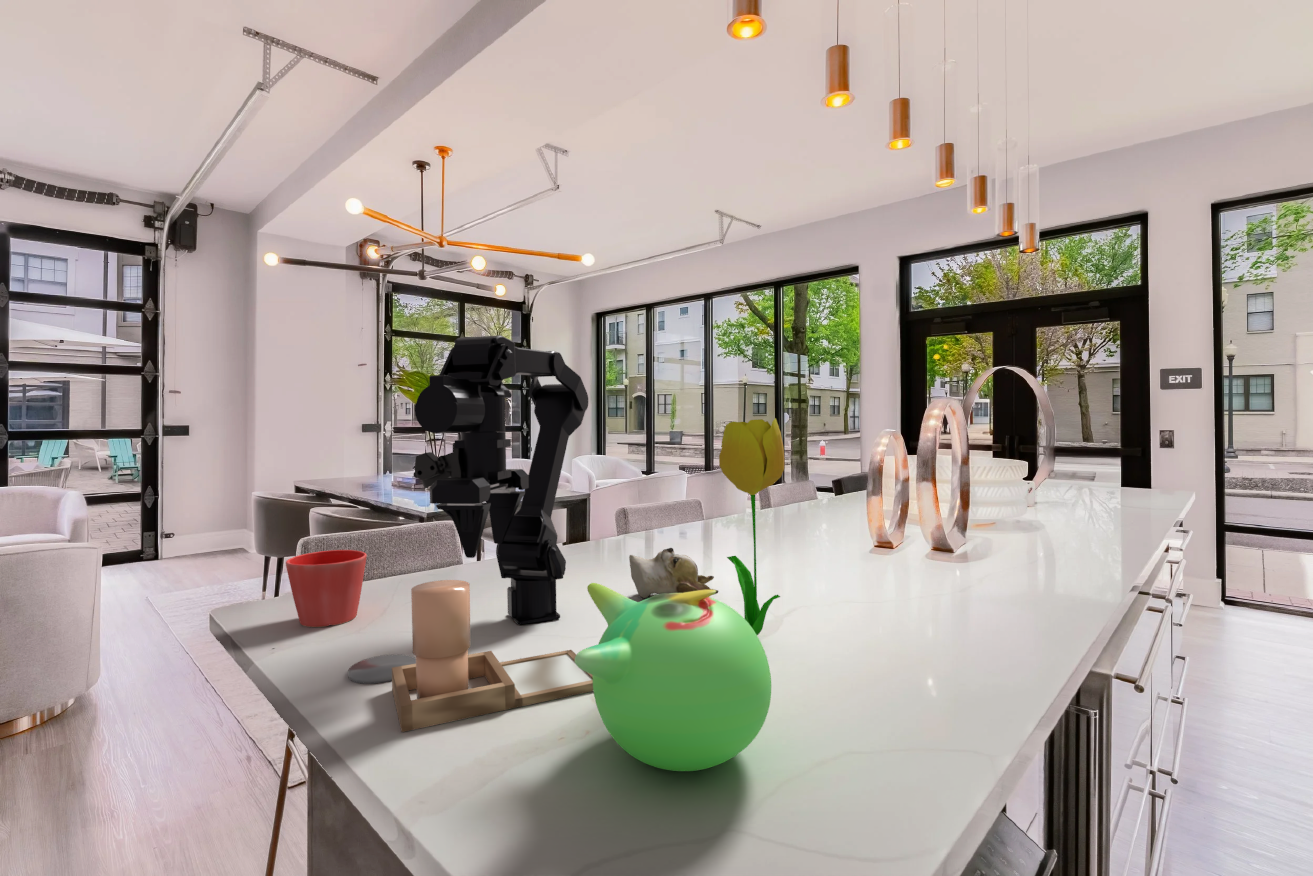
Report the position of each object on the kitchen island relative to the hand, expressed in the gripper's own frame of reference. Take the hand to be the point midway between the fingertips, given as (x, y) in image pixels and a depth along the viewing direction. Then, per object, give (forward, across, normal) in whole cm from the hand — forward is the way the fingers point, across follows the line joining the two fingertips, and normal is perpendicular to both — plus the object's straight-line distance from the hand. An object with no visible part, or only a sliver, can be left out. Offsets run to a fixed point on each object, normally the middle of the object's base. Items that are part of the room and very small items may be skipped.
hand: (485, 550), depth 84 cm
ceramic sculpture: (+13, -27, +22) cm, 37 cm away
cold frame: (+13, +13, +7) cm, 19 cm away
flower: (+13, -6, +35) cm, 38 cm away
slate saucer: (+13, +9, -9) cm, 18 cm away
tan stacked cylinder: (+13, +17, +2) cm, 21 cm away
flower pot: (+13, -9, -29) cm, 33 cm away
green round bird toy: (+13, +24, +27) cm, 39 cm away
